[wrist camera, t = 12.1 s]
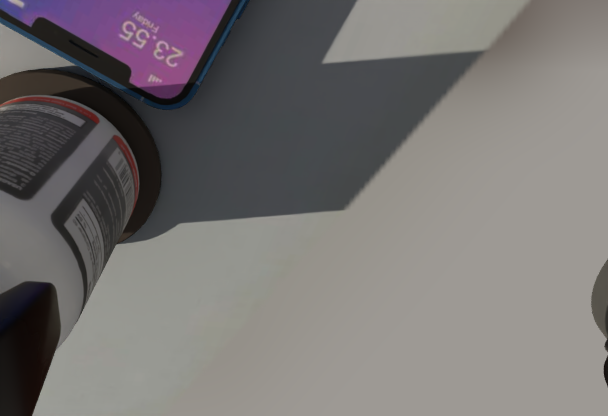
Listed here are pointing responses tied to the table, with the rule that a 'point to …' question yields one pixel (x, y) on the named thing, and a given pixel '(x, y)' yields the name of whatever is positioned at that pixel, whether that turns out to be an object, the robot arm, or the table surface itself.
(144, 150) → the coaster
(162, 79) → the smartphone
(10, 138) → the pill bottle
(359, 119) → the table surface
